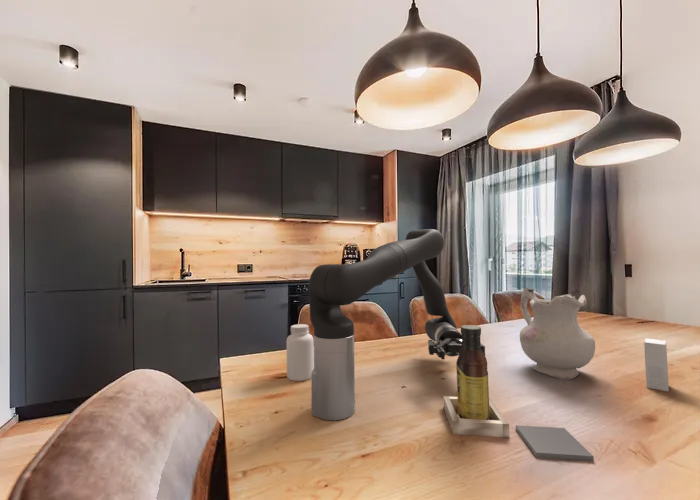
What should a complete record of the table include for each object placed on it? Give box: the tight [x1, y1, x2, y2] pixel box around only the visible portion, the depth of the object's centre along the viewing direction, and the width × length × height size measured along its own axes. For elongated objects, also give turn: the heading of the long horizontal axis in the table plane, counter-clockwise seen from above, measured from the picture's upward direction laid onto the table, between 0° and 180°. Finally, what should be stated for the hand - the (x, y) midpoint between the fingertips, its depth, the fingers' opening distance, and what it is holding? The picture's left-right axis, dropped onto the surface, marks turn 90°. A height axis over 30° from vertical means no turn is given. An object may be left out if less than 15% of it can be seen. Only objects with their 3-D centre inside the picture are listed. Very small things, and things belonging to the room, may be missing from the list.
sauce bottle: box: [455, 324, 490, 420], centre depth 66 cm, size 6×6×20 cm
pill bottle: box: [286, 323, 314, 382], centre depth 93 cm, size 8×8×15 cm
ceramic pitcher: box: [519, 287, 596, 380], centre depth 97 cm, size 22×20×25 cm
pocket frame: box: [442, 395, 510, 439], centre depth 66 cm, size 10×11×2 cm
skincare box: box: [643, 338, 670, 393], centre depth 83 cm, size 6×4×12 cm
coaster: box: [515, 424, 595, 462], centre depth 57 cm, size 9×9×1 cm
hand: (461, 356), depth 77 cm, fingers open, 8 cm apart
